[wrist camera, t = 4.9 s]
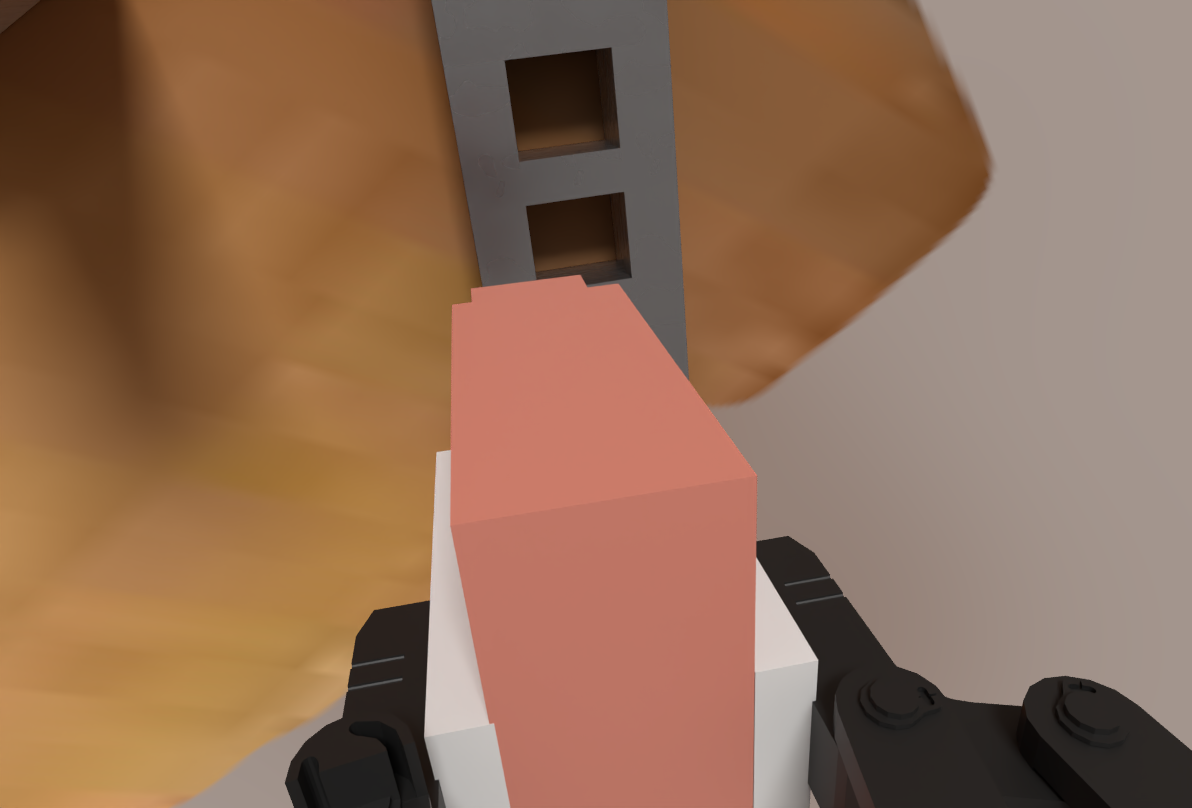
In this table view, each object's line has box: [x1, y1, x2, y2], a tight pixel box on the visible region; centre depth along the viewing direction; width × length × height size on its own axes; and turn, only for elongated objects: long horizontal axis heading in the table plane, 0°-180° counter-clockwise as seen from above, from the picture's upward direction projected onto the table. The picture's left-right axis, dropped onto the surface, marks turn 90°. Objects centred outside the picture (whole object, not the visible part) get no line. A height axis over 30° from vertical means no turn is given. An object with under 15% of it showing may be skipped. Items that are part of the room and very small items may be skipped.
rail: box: [431, 0, 689, 381], centre depth 29 cm, size 8×26×3 cm, turn 6°
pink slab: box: [450, 275, 757, 808], centre depth 13 cm, size 3×8×10 cm, turn 5°
